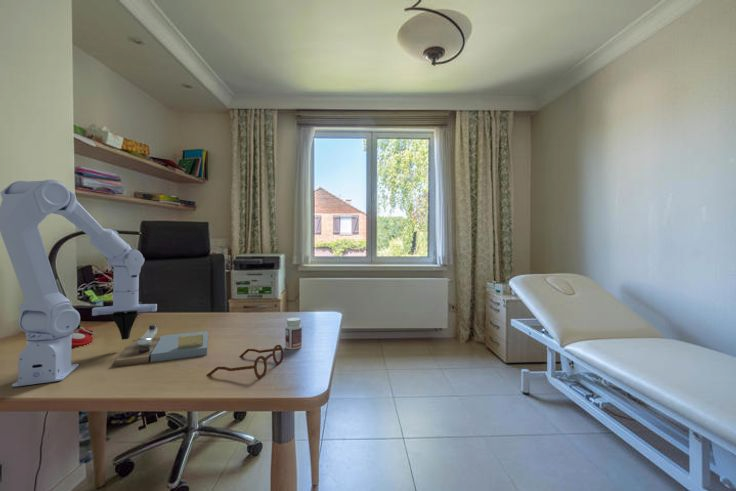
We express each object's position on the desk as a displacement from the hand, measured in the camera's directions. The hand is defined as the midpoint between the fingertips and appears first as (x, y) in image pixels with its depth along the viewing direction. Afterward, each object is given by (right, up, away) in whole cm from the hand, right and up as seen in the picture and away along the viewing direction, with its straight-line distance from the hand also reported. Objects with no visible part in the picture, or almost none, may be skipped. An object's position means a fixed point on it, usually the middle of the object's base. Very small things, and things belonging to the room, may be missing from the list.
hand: (125, 338), depth 89 cm
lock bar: (+7, 0, 0) cm, 7 cm away
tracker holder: (-19, -4, +6) cm, 20 cm away
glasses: (+39, -4, -11) cm, 41 cm away
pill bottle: (+47, -4, +4) cm, 47 cm away
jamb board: (+6, -3, -3) cm, 7 cm away
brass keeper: (+19, -1, -1) cm, 19 cm away
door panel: (+15, -3, +2) cm, 16 cm away
